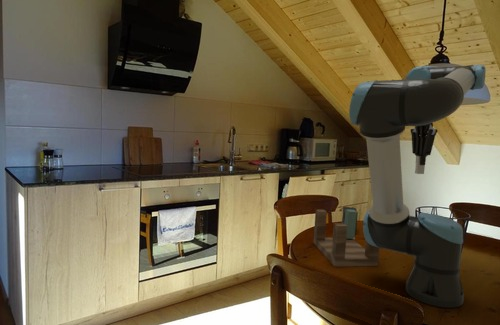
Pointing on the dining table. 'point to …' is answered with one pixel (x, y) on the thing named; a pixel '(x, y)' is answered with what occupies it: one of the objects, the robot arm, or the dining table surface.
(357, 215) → the small box
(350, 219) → the green rectangular block
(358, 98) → the robot arm
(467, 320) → the dining table surface
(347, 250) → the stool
